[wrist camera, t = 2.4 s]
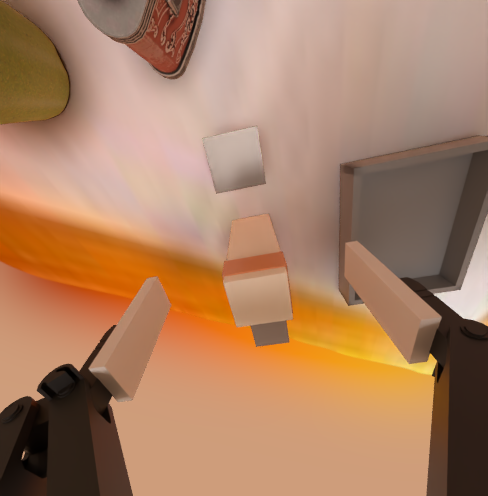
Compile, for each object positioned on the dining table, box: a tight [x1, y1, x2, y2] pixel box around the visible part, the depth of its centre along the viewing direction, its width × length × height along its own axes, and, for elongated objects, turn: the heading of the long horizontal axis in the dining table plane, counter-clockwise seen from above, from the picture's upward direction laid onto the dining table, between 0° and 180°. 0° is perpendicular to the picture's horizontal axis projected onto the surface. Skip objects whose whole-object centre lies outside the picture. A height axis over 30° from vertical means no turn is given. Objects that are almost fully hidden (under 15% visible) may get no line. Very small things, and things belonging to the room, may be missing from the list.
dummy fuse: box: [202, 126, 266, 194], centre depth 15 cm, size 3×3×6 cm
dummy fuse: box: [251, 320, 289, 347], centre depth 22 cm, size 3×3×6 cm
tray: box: [339, 136, 488, 306], centre depth 20 cm, size 11×14×3 cm
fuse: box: [222, 214, 293, 327], centre depth 17 cm, size 4×4×10 cm
